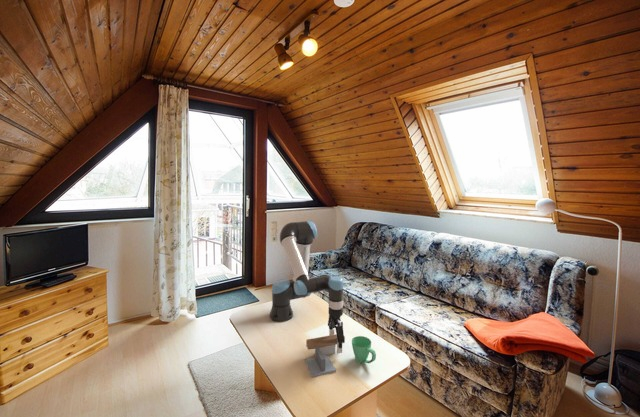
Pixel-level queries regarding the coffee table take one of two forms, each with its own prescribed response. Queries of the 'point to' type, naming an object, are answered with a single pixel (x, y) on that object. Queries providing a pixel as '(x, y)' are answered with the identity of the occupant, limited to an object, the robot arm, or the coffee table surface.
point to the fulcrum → (319, 364)
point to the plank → (322, 341)
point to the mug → (362, 349)
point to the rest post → (328, 349)
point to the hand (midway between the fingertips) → (335, 346)
